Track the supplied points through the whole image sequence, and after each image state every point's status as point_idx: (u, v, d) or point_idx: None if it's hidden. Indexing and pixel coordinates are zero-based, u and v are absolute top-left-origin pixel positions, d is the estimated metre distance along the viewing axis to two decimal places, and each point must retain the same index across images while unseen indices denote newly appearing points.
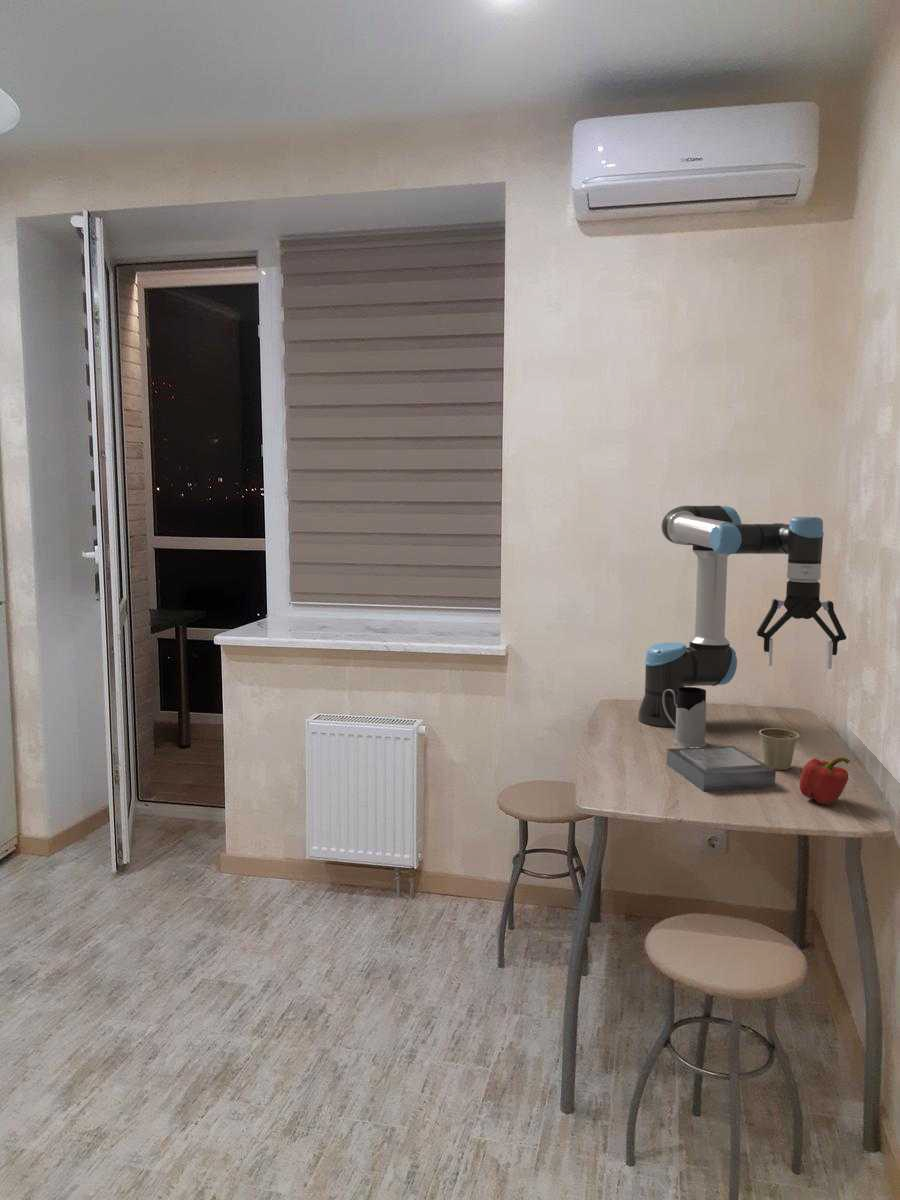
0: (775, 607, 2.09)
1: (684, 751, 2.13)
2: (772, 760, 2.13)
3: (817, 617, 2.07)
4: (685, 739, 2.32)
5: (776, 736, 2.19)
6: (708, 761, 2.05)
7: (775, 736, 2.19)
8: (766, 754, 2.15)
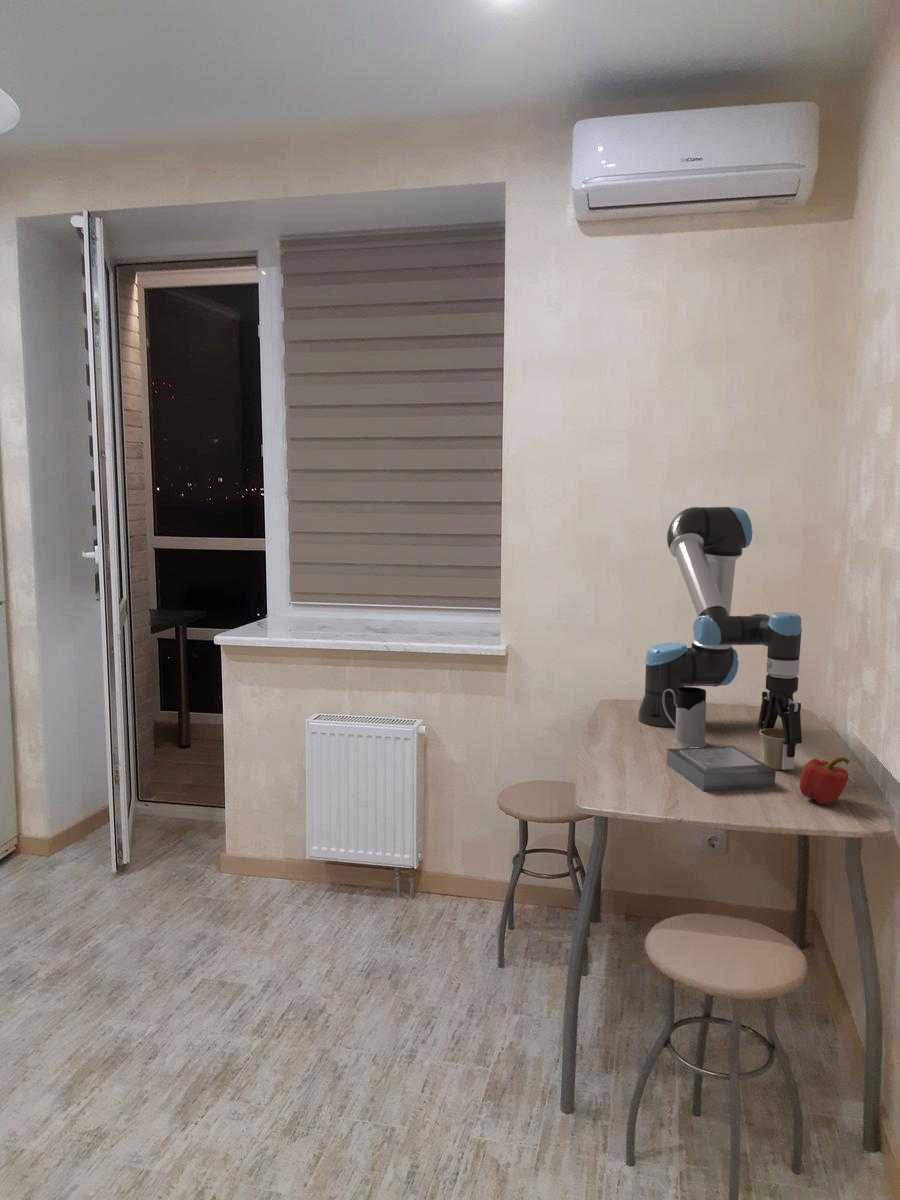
0: (763, 698, 2.20)
1: (684, 751, 2.13)
2: (772, 760, 2.13)
3: (780, 713, 2.11)
4: (685, 739, 2.32)
5: (776, 736, 2.19)
6: (708, 761, 2.05)
7: (775, 736, 2.19)
8: (766, 754, 2.15)
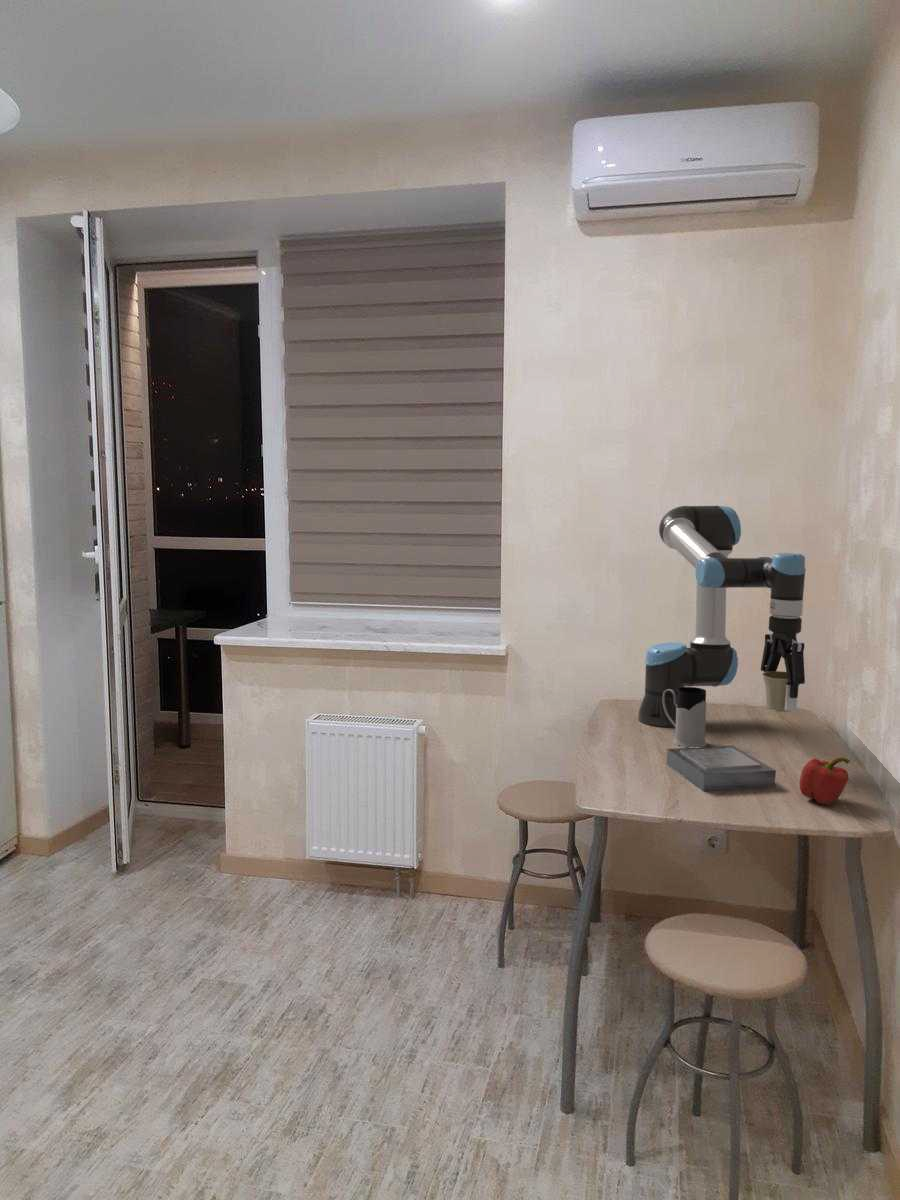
0: (766, 641, 2.18)
1: (684, 751, 2.13)
2: (775, 701, 2.12)
3: (783, 654, 2.10)
4: (685, 739, 2.32)
5: (779, 679, 2.17)
6: (708, 761, 2.05)
7: (778, 679, 2.17)
8: (769, 696, 2.13)
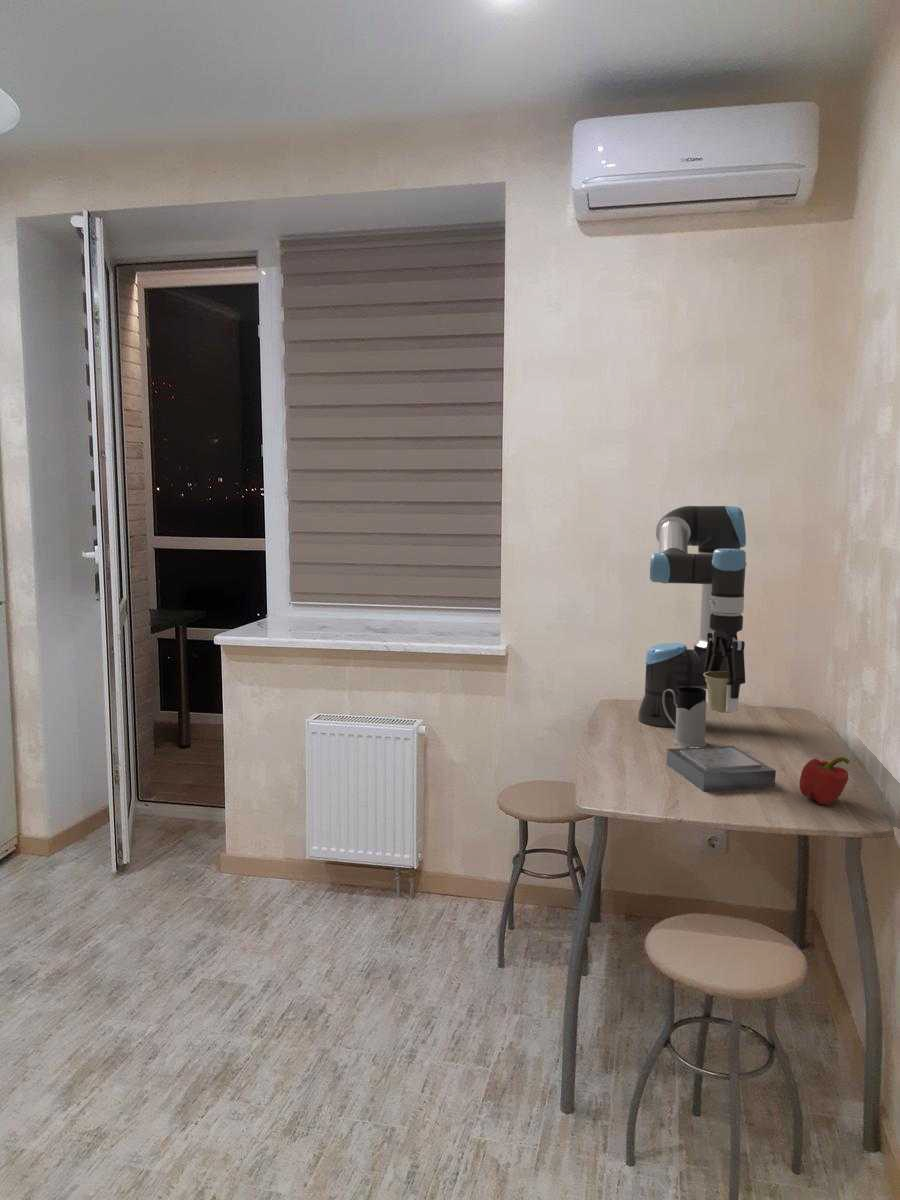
0: (708, 640, 2.11)
1: (684, 751, 2.13)
2: (716, 702, 2.04)
3: (723, 653, 2.02)
4: (685, 739, 2.32)
5: (722, 679, 2.10)
6: (708, 761, 2.05)
7: (721, 679, 2.10)
8: (710, 696, 2.06)
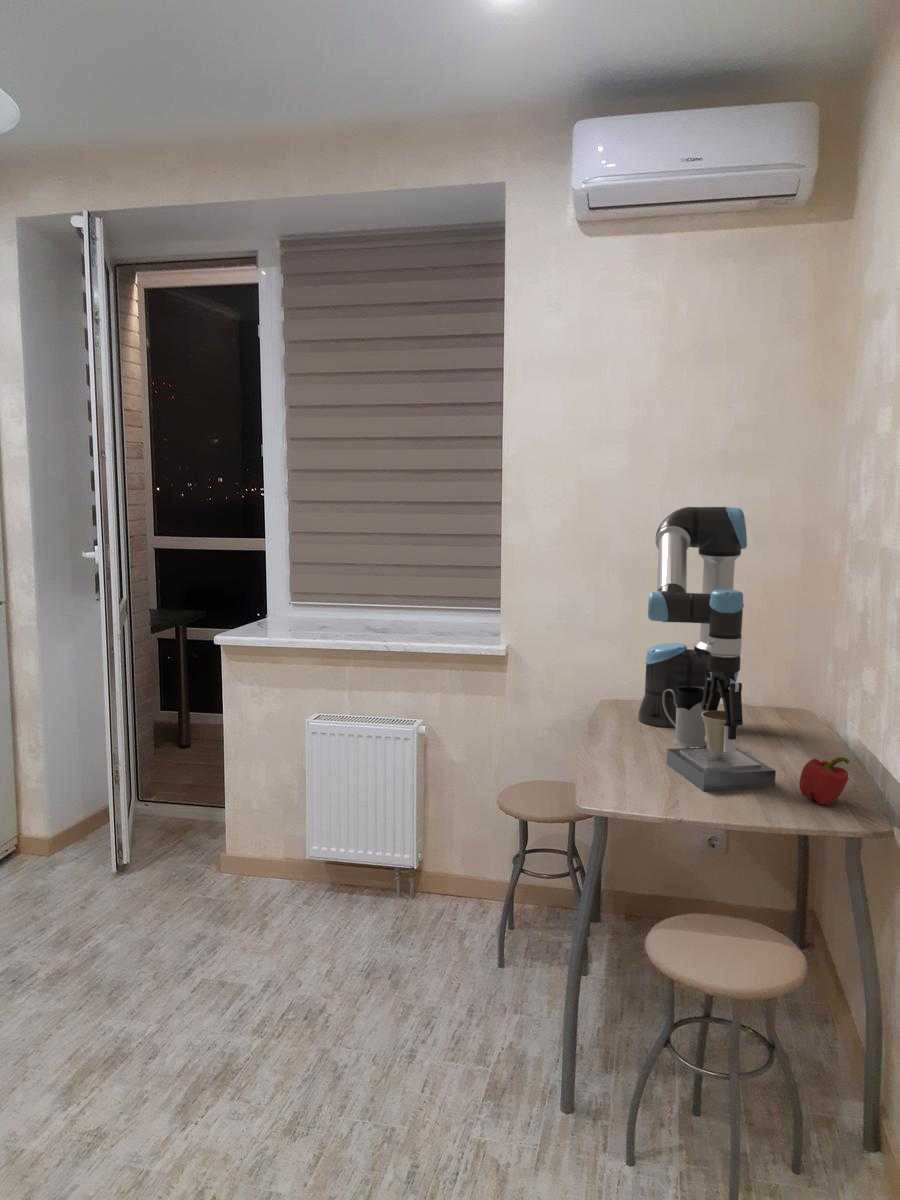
0: (706, 679, 2.12)
1: (684, 751, 2.13)
2: (714, 742, 2.05)
3: (721, 694, 2.04)
4: (685, 739, 2.32)
5: (719, 718, 2.11)
6: (708, 761, 2.05)
7: (718, 718, 2.11)
8: (708, 736, 2.07)
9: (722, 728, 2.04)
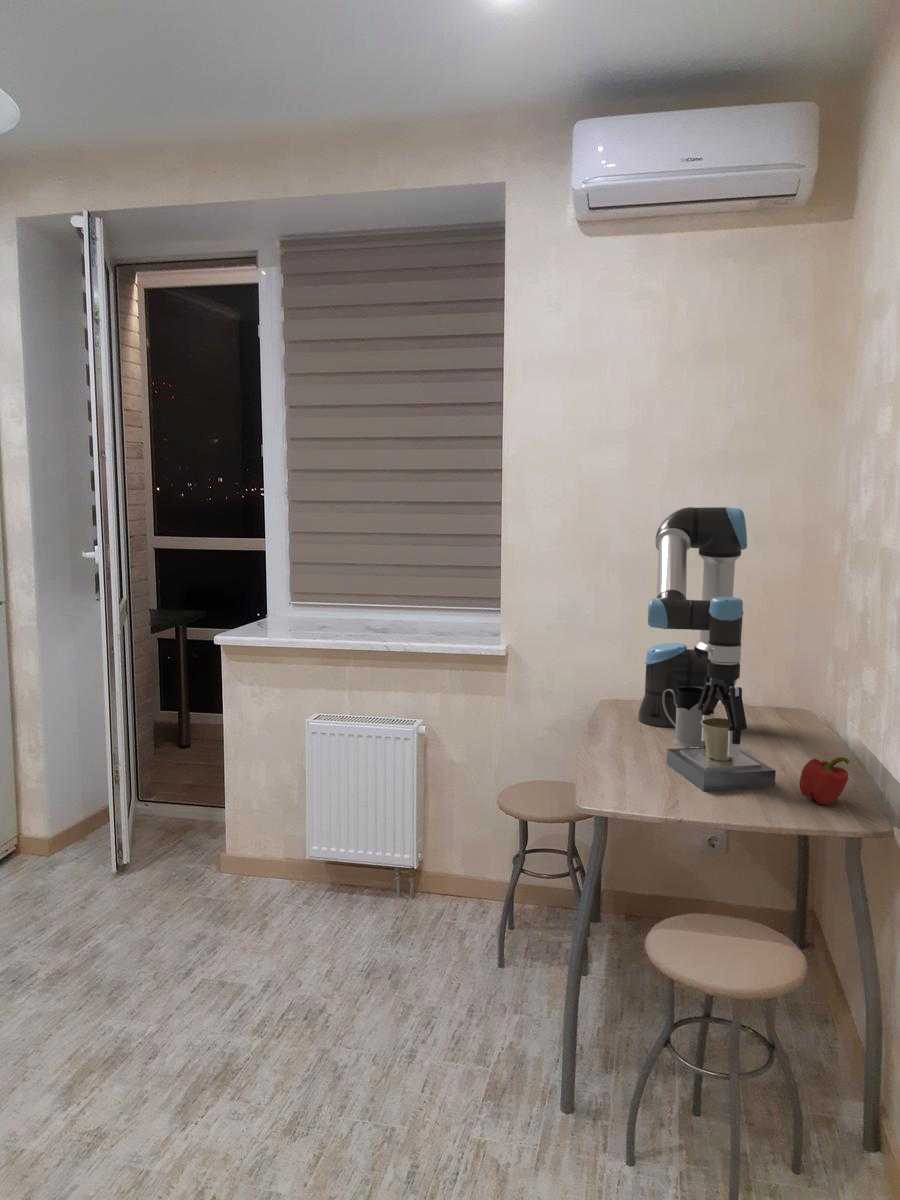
0: (705, 683, 2.12)
1: (684, 751, 2.13)
2: (714, 750, 2.06)
3: (722, 700, 2.03)
4: (685, 739, 2.32)
5: (719, 726, 2.11)
6: (708, 761, 2.05)
7: (718, 726, 2.11)
8: (708, 744, 2.07)
9: (722, 736, 2.04)
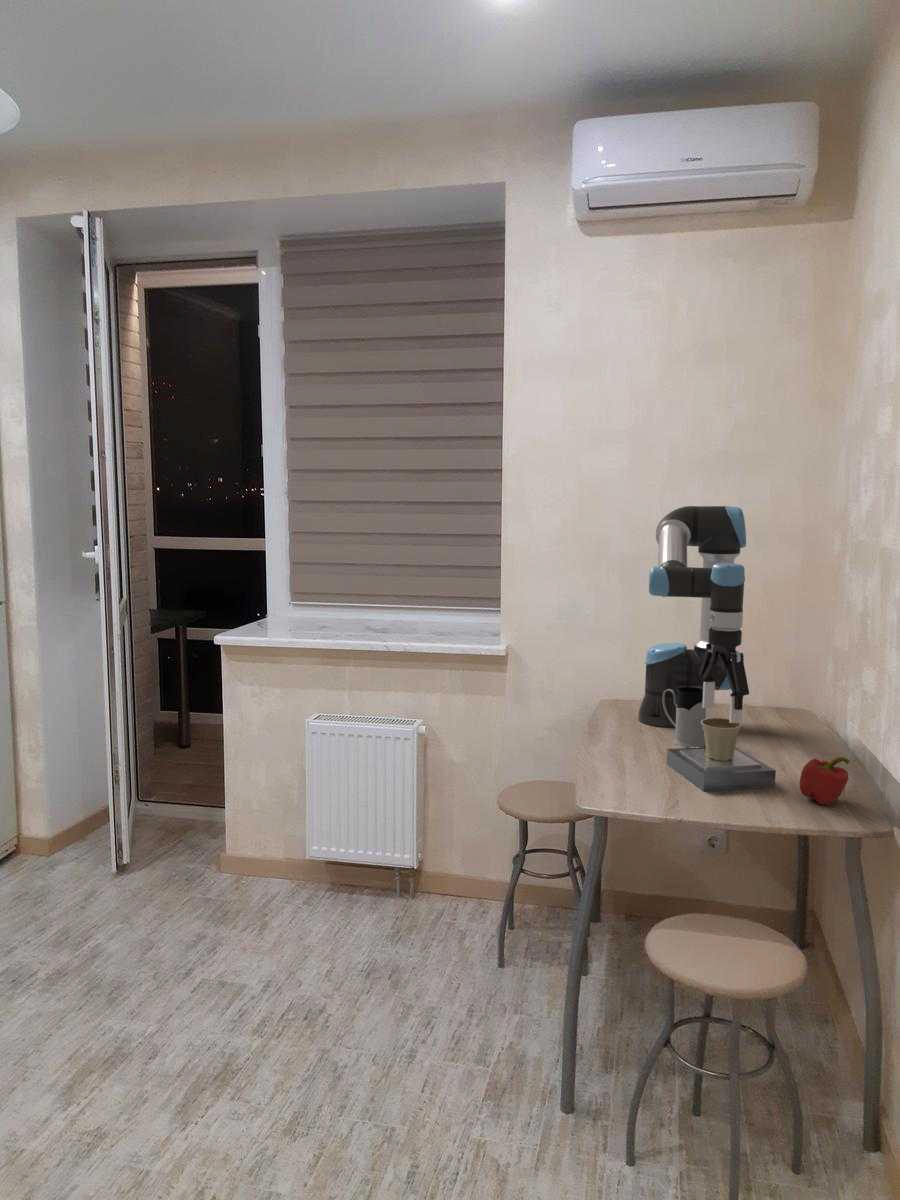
0: (707, 650, 2.11)
1: (684, 751, 2.13)
2: (714, 750, 2.06)
3: (723, 667, 2.02)
4: (685, 739, 2.32)
5: (719, 726, 2.11)
6: (708, 761, 2.05)
7: (718, 726, 2.11)
8: (708, 744, 2.07)
9: (722, 736, 2.04)
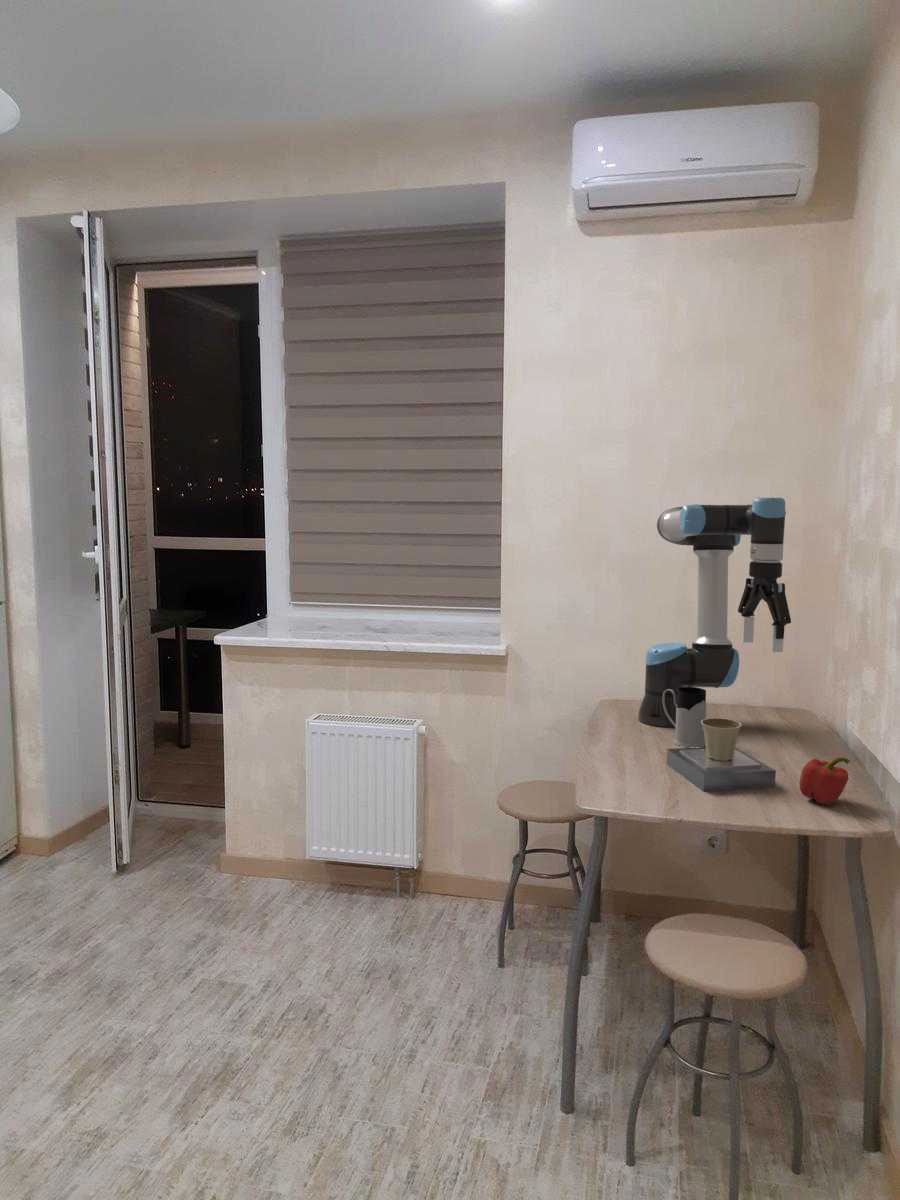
0: (746, 585, 2.15)
1: (684, 751, 2.13)
2: (714, 750, 2.06)
3: (765, 598, 2.06)
4: (685, 739, 2.32)
5: (719, 726, 2.11)
6: (708, 761, 2.05)
7: (718, 726, 2.11)
8: (708, 744, 2.07)
9: (722, 736, 2.04)
